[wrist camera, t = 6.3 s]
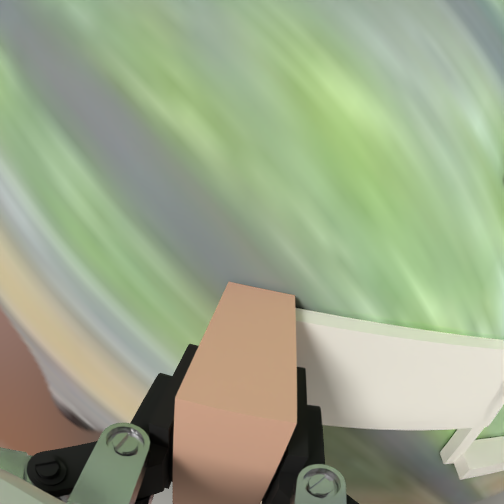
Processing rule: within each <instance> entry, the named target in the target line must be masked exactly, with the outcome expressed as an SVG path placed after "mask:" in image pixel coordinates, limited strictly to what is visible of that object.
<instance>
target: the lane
mask: <svg viewBox="0 0 504 504" xmlns="http://www.w3.org/2000/svg"><path fill="white" fill-rule="evenodd" d="M297 367H303V368H305V369H306V388H307V405H314V406H320V408H321V416H322V425H327V426H337V427H349V428H363V429H382V430H447V429H457V431H456V432H455V433H454V435H453V436H452V437H451V439H450V440H449V441H448V443H447V444H446V445H445V447H444V448H443V449H442V450H441V452H440V455H441V458H442V461H443V463H444V464H451V463H454V465H455V468H456V471H457V473H458V476H459V478H460V480H461V479H466V478H472V477H477V476H482V475H486V474H491V473H495V472H499V471H503V470H504V436H500V437H494V438H486V439H478V440H475V439H476V438H477V437H478V435H479V434H480V433H481V431H482V430H483V429H484V427H488V426H489V425H490V423H491V422H492V420H493V419H494V418H495V416H496V415H497V413H498V412H499V410H500V409H501V407H502V406H503V404H504V340H499V339H490V338H482V337H474V336H466V335H458V334H450V333H443V332H436V331H429V330H422V329H415V328H409V327H402V326H396V325H389V324H383V323H377V322H371V321H365V320H359V319H353V318H348V317H342V316H336V315H331V314H325V313H320V312H315V311H309V310H304V309H299V308H295V295H291V294H286V293H281V292H276V291H271V290H266V289H261V288H256V287H251V286H246V285H242V284H237V283H232V282H228V284H227V286H226V289H225V291H224V293H223V295H222V297H221V299H220V301H219V304H218V306H217V308H216V310H215V312H214V314H213V316H212V319H211V321H210V323H209V325H208V327H207V329H206V332H205V334H204V336H203V338H202V340H201V342H200V345H199V347H198V349H197V351H196V353H195V355H194V358H193V360H192V362H191V364H190V366H189V368H188V371H187V373H186V375H185V377H184V379H183V381H182V384H181V386H180V388H179V390H178V392H177V395H176V397H175V410H174V436H173V504H260V502H261V500H262V498H263V496H264V494H265V492H266V490H267V488H268V486H269V484H270V482H271V480H272V478H273V476H274V474H275V472H276V469H277V467H278V465H279V463H280V461H281V459H282V456H283V454H284V452H285V450H286V447H287V445H288V443H289V441H290V438H291V436H292V434H293V431H294V429H295V427H296V424H297Z"/></svg>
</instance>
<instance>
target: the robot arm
mask: <svg viewBox="0 0 504 504" xmlns="http://www.w3.org/2000/svg"><path fill="white" fill-rule="evenodd" d="M198 347H199V346H196V345H192V344H189V345H188V347H187V349H186V351H185V353H184V355H183V357H182V359H181V361H180V363H179V364H178V366H177V368H176V370H175V372H174V374H173V376H169V375H166V374H162V373H159V374H158V376H157V377H156V379H155V381H154V382H153V384H152V386H151V388H150V389H149V391H148V393H147V395H146V396H145V398H144V400H143V402H142V403H141V405H140V407H139V409H138V411H137V412H136V414H135V416H134V418H133V419H132V421H131V423H130V424H129V423H116V424H113V425H110V426H109V427H107V428H106V429H105V430H104V431H103V432H102V434H101V436H100V438H99V440H98V441H96V442H91V443H87V444H82V445H78V446H72V447H67V448H62V449H56V450H50V451H44V452H40V453H37V454H35V455H34V456H29V455H27V453H26V452H21V451H16V450H10V449H5V448H0V504H151V503H152V500H153V497H154V494H157V493H159V492H162V491H164V488H168V489H169V486H170V484H171V481H172V482H173V436H174V410H175V397H176V395H177V392H178V390H179V388H180V386H181V384H182V381H183V379H184V377H185V375H186V373H187V371H188V368H189V366H190V364H191V362H192V360H193V358H194V355H195V353H196V351H197V349H198ZM261 501H262V504H359V503H357V502H356V501H355V500H353V499H352V498H351V497H350V496H348V495H347V494H346V483H345V479H344V477H343V476H342V474H341V473H340V472H339V471H338V470H336V469H335V468H333V467H331V466H328V465H325V457H324V442H323V429H322V416H321V408H320V406H314V405H307V388H306V369H305V368H303V367H297V424H296V427H295V429H294V431H293V434H292V436H291V438H290V441H289V443H288V445H287V447H286V450H285V452H284V454H283V456H282V459H281V461H280V463H279V465H278V467H277V469H276V472H275V474H274V476H273V478H272V480H271V482H270V484H269V486H268V488H267V490H266V492H265V494H264V496H263V498H262V500H261Z"/></svg>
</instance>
